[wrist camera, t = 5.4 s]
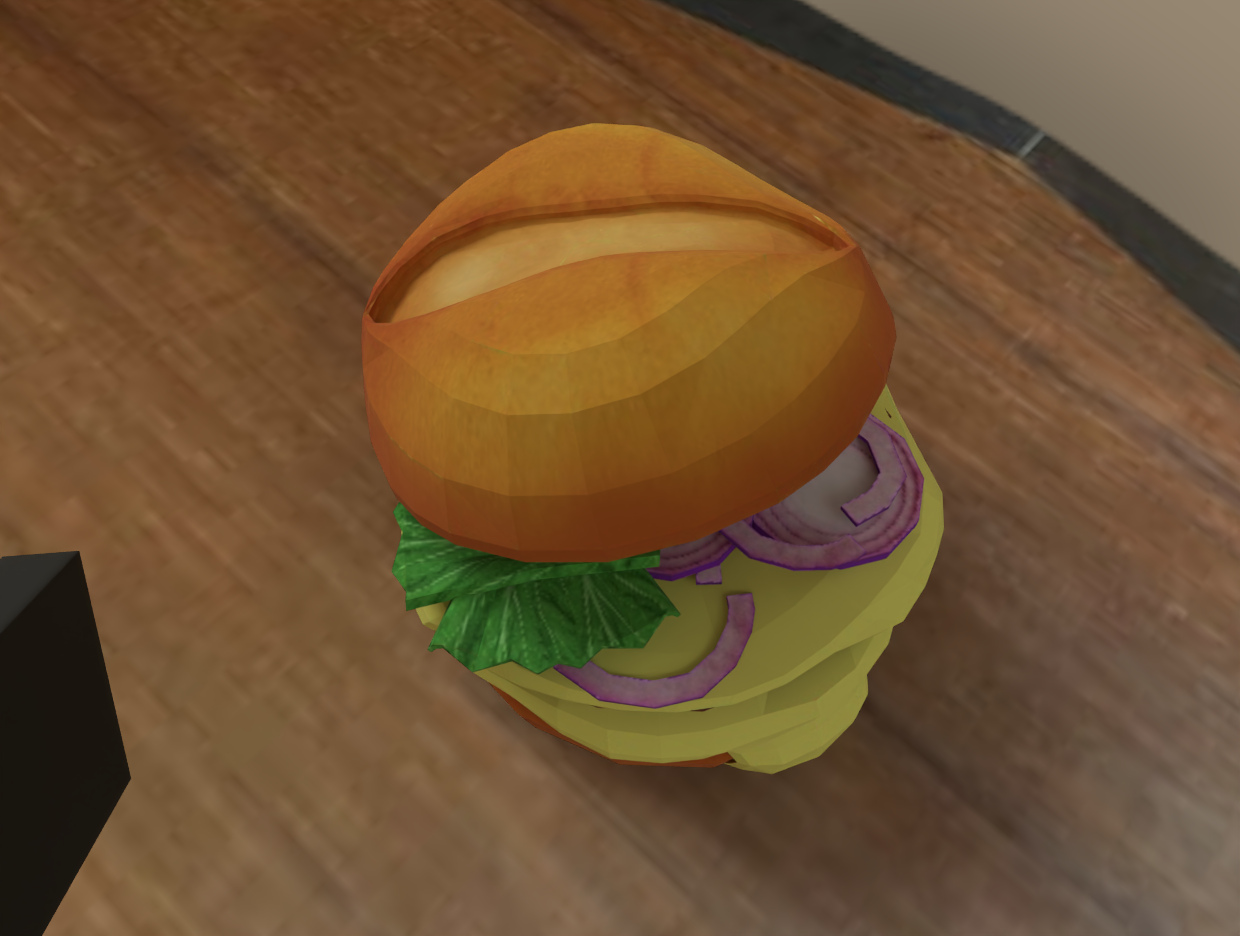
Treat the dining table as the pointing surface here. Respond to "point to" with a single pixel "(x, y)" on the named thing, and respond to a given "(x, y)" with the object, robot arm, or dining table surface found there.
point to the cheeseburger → (648, 450)
